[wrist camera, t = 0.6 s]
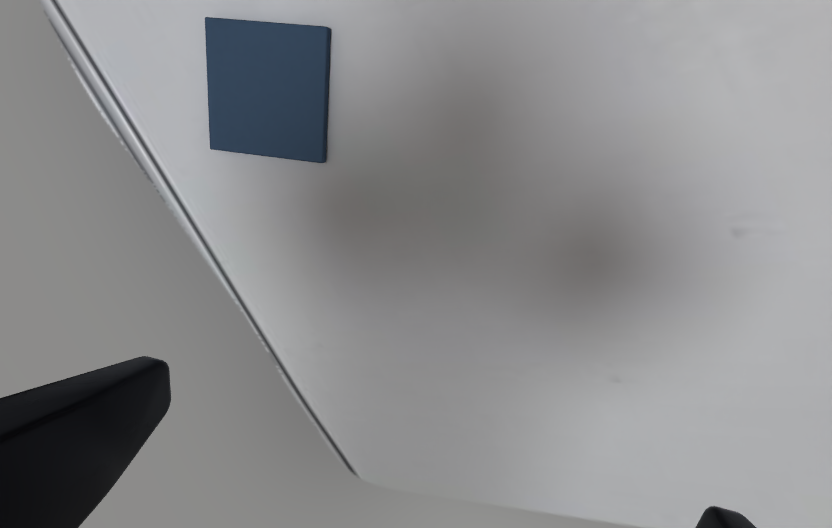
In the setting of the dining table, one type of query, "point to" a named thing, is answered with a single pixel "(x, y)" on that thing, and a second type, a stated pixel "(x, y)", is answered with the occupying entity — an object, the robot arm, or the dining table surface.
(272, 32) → the mat
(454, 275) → the dining table surface
